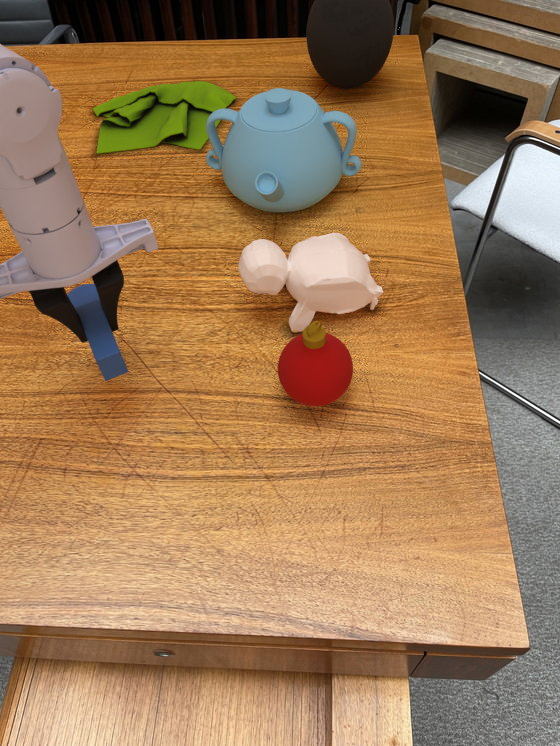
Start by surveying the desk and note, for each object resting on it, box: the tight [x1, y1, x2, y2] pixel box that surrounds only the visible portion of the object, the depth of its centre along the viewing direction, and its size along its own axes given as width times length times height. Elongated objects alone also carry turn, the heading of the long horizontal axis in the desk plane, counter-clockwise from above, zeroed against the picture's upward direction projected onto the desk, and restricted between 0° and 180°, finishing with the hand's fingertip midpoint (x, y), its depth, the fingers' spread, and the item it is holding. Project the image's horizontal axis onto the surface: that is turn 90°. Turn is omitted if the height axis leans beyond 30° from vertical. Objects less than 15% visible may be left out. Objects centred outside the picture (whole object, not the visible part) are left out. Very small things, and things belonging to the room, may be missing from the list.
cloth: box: [92, 80, 237, 155], centre depth 93 cm, size 20×22×2 cm
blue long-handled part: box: [67, 283, 130, 382], centre depth 59 cm, size 11×4×3 cm, turn 25°
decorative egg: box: [305, 0, 395, 90], centre depth 91 cm, size 12×12×15 cm
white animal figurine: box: [238, 232, 384, 333], centre depth 67 cm, size 9×8×15 cm
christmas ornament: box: [277, 320, 354, 407], centre depth 59 cm, size 7×7×10 cm
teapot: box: [205, 87, 362, 213], centre depth 76 cm, size 20×20×13 cm
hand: (98, 329), depth 58 cm, fingers closed on blue long-handled part, 2 cm apart
